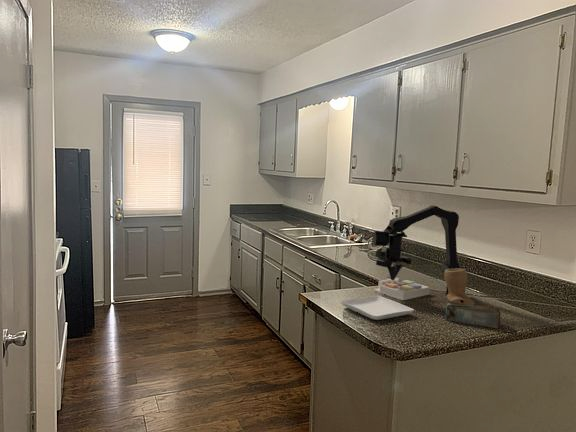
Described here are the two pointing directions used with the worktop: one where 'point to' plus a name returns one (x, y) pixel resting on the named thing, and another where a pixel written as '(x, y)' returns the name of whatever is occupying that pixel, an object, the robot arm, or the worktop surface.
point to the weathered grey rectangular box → (473, 314)
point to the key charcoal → (400, 283)
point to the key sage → (408, 282)
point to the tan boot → (457, 286)
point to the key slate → (415, 286)
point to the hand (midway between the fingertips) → (392, 279)
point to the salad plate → (377, 307)
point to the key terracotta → (391, 285)
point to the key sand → (407, 287)
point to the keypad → (401, 290)
